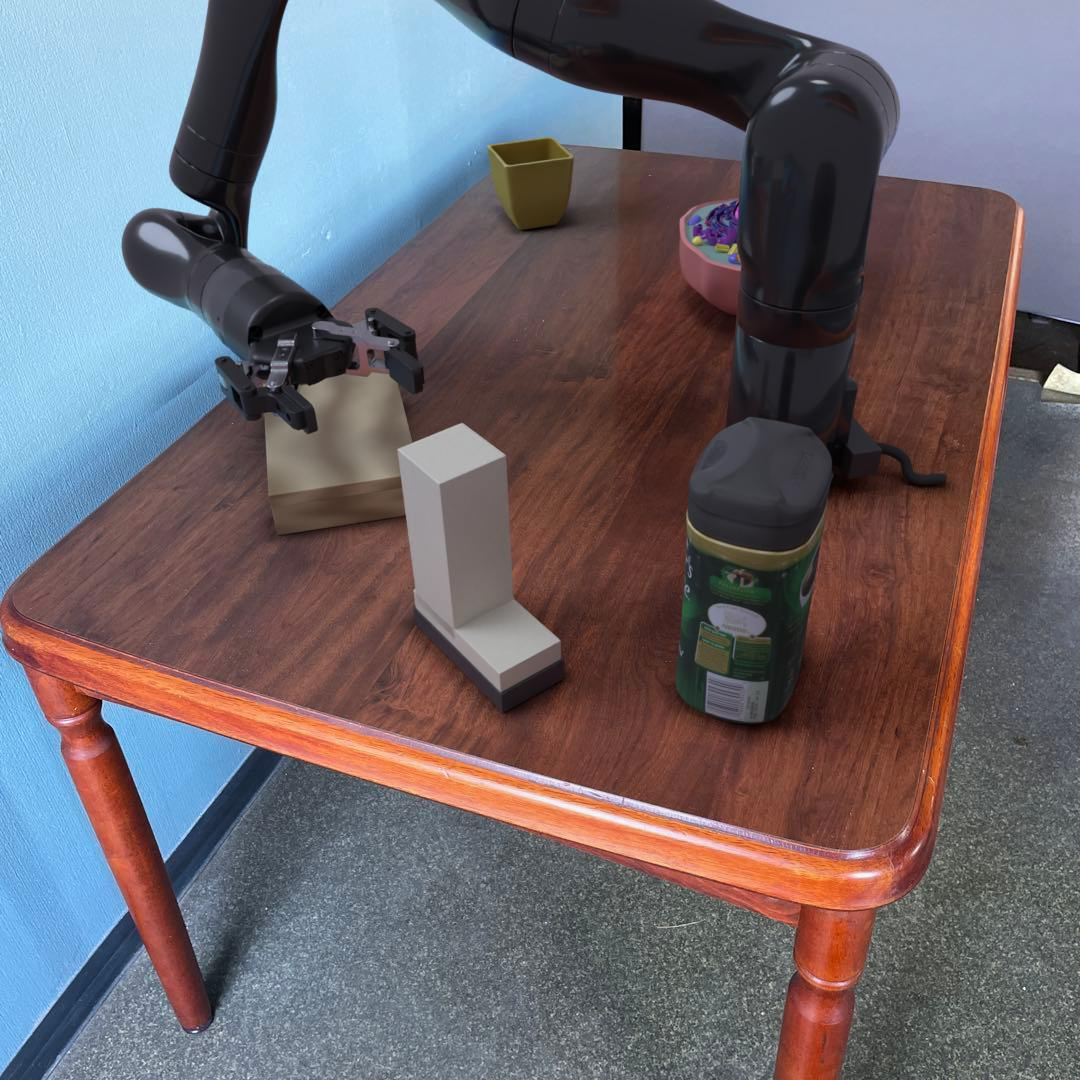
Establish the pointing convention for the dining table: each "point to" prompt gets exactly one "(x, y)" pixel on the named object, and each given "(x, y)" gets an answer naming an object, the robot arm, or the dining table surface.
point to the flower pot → (532, 180)
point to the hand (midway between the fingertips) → (366, 401)
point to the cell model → (712, 252)
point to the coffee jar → (750, 567)
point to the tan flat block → (339, 456)
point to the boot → (472, 567)
